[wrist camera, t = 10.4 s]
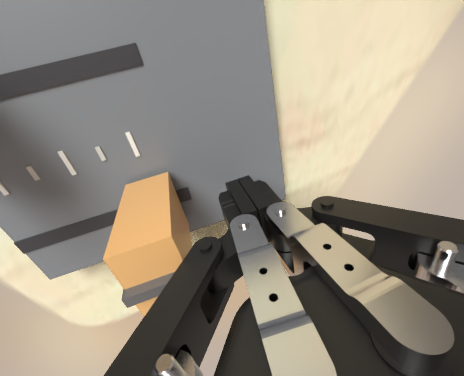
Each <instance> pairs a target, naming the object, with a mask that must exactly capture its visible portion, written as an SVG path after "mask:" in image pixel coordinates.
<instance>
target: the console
mask: <svg viewBox="0 0 464 376" xmlns="http://www.w3.org/2000/svg"><path fill="white" fill-rule="evenodd" d="M166 172H168V173H169V176H170V178H171V181H172V183H173V186H174V188H175V191H176V193H177V196H178V198H179V201H180V203H181V206H182V208H183V211H184V213H185V216H186V218H187V221H188V223H189V229H190V232H191V231H194V230H197V229H199V228H202V227H205V226H208V225H211V224H214V223H217V222H220V221H223V220H225V219H224V216H223V212H222V209H221V206H220V202H219V199H218V198H219V194H220V193H222V192H225V191H227V188H226V184H225V183H226V182H229V181H232V180H235V179H238V178H241V177H244V176H247V175H249V176H250V177H251V178H252V180H253V181H254V182H255V181H257V180H261V181H263V182H266V183H267V184H268V185H269V187H270V188H271V189H272V190H273V191H274V192H275V193H276V195H277V196H278V197H279V198H280V199H281V200H284V199H286V195H285V186H284V177H283V168H282V160H281V151H280V142H279V133H278V125H277V116H276V107H275V98H274V89H273V81H272V72H271V63H270V54H269V46H268V37H267V28H266V19H265V11H264V2H263V0H0V227H1V228H2V229H3V230H4V231H5V232H6V233H7V234H8V236H9V237H10V238H11V239H12V240H13V241H14V244H15V245H16V246H17V247H18V248H19V249H20V250H21V251H22V252H23V253H24V254H26V255H27V256H28V257H29V258H30V259H31V260H32V261H33V262H34V263H35V264H36V265H37V266H38V267H39V268H40V269H41V270H42V271H43V273H44V274H45V275H46V276H47V277H48V278H49V279H53V278H56V277H59V276H62V275H65V274H68V273H71V272H74V271H77V270H80V269H83V268H85V267H88V266H91V265H94V264H97V263H100V262H103V261H104V260H103V257H104V254H105V251H106V247H107V244H108V241H109V237H110V234H111V231H112V228H113V224H114V221H115V218H116V214H117V211H118V208H119V204H120V201H121V198H122V195H123V191H124V188H125V185H127V184H130V183H133V182H136V181H140V180H143V179H146V178H149V177H153V176H156V175H159V174H162V173H166Z"/></svg>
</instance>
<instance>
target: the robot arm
mask: <svg viewBox="0 0 464 376" xmlns="http://www.w3.org/2000/svg"><path fill="white" fill-rule="evenodd" d="M225 184H226V188H227V191H225V192H222V193H220V194H219V198H218V199H219V202H220V206H221V209H222V212H223V216H224V219H225V221H226V224H227V226H228V228H229V229H228V231H227V232H226V234H225V235H224V236H222V237H221V238H219V239H217V238H215V237H205V238H202V239H200V240H198V241H197V242H196V243H195V244H194V245H193V246H192V248H191V249H190V251H189V252H188V254H187V255H186V257H185V258H184V260H183V261H182V263H181V264H180V265H179V267H178V268H177V270H176V271H175V273H174V274H173V276H172V277H171V279H170V280H169V281H168V283H167V284H166V286H165V287H164V289H163V290H162V292H161V293H160V295H159V296H158V297H157V299H156V300H155V302H154V303H153V305H152V306H151V308H150V309H149V311H148V312H147V313H146V315H145V316H144V318H143V319H142V321H141V322H140V324H139V325H138V327H137V328H136V329H135V331H134V332H133V334H132V335H131V337H130V338H129V340H128V341H127V343H126V344H125V346H124V347H123V349H122V350H121V352H120V353H119V354H118V356H117V357H116V359H115V360H114V362H113V363H112V364H111V366H110V367H109V369H108V370H107V372H106V373H105V375H104V376H203V374H202V372H201V370H200V369H199V367H200V364H201V362H202V360H203V358H204V355H205V353H206V351H207V348H208V346H209V344H210V341H211V339H212V337H213V334H214V332H215V330H216V327H217V325H218V323H219V320H220V318H221V316H222V314H223V311H224V309H225V306H226V304H227V302H228V300H229V297H230V295H231V292H232V290H233V287H234V282H235V281H236V280H237V279H239V278H240V277H242V276H243V275H244V278H245V282H246V285H247V289H248V292H249V295H250V298H248V299H247V300H246V301H245V302H244V303H243V304H242V306H241V307H240V308H239V310H238V311H237V313H236V315H235V317H234V320H233V322H232V325H231V328H230V331H229V333H228V337H227V339H226V342H225V345H224V348H223V351H222V354H221V356H220V359H219V362H218V365H217V368H216V371H215V374H214V376H464V220H460V219H455V218H450V217H444V216H438V215H432V214H427V213H422V212H416V211H409V210H405V209H399V208H393V207H388V206H382V205H376V204H371V203H365V202H359V201H354V200H348V199H342V198H337V197H331V196H323V197H319V198H316V199H315V200H314V201H313V202H312V207H307V208H295V207H294V206H293V205H292V204H290V203H287V202H283V201H282V200H281V199H280V198H279V197H278V196H277V195H276V193H275V192H274V191H273V190H272V189H271V188H270V187H269V185H268V184H267V183H266V182H263V181H261V180H257V181H255V182H254V181H253V180H252V178H251V177H250V176H249V175H247V176H244V177H241V178H238V179H235V180H232V181H229V182H226V183H225ZM342 227H346V228H350V229H354V230H358V231H362V232H366V233H369V234H371V235H372V236H373V237H374V238H375V241H371V240H367V239H363V238H359V237H355V236H352V235H348V234H344V233H342ZM269 242H271V244H269ZM283 266H284V267H283ZM284 268H285V269H286V270H287V272H288V273H289V274H290V276H289V277H288V276H287V274H286V272H285V269H284Z"/></svg>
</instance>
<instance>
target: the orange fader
mask: <svg viewBox="0 0 464 376" xmlns="http://www.w3.org/2000/svg"><path fill="white" fill-rule="evenodd" d="M191 248H192V241H191V235H190V229H189V223H188V221H187V218H186V216H185V213H184V211H183V208H182V206H181V203H180V201H179V198H178V196H177V193H176V191H175V188H174V186H173V183H172V181H171V178H170V176H169V173H168V172H166V173H162V174H159V175H156V176H153V177H149V178H146V179H143V180H140V181H136V182H133V183H130V184H127V185H125V188H124V191H123V195H122V198H121V201H120V204H119V208H118V211H117V214H116V218H115V221H114V224H113V228H112V231H111V234H110V237H109V241H108V244H107V247H106V251H105V254H104V257H103V260H104V262H105V263H106V265H107V266H108V267H109V269H110V270H111V272H112V273H113V274H114V276H115V277H116V279H117V280H118V281H119V283H120V284H121V285H122V287H123V288H124V289H123V295H122V301H123V303H124V304H125V305H126V307H127V308H128V307H131V306H133V305H136V306H137V308H138V309H139V311H140V312H141V313H142V315H143V316H145V315H146V313H147V312H148V311H149V309H150V308H151V306H152V305H153V303H154V302H155V300H156V299H157V297H158V296H159V295H160V293H161V292H162V290H163V289H164V287H165V286H166V284H167V283H168V281H169V280H170V279H171V277H172V276H173V274H174V273H175V271H176V270H177V268H178V267H179V265H180V264H181V263H182V261H183V260H184V258H185V257H186V255H187V254H188V252H189V251H190V249H191Z"/></svg>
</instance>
